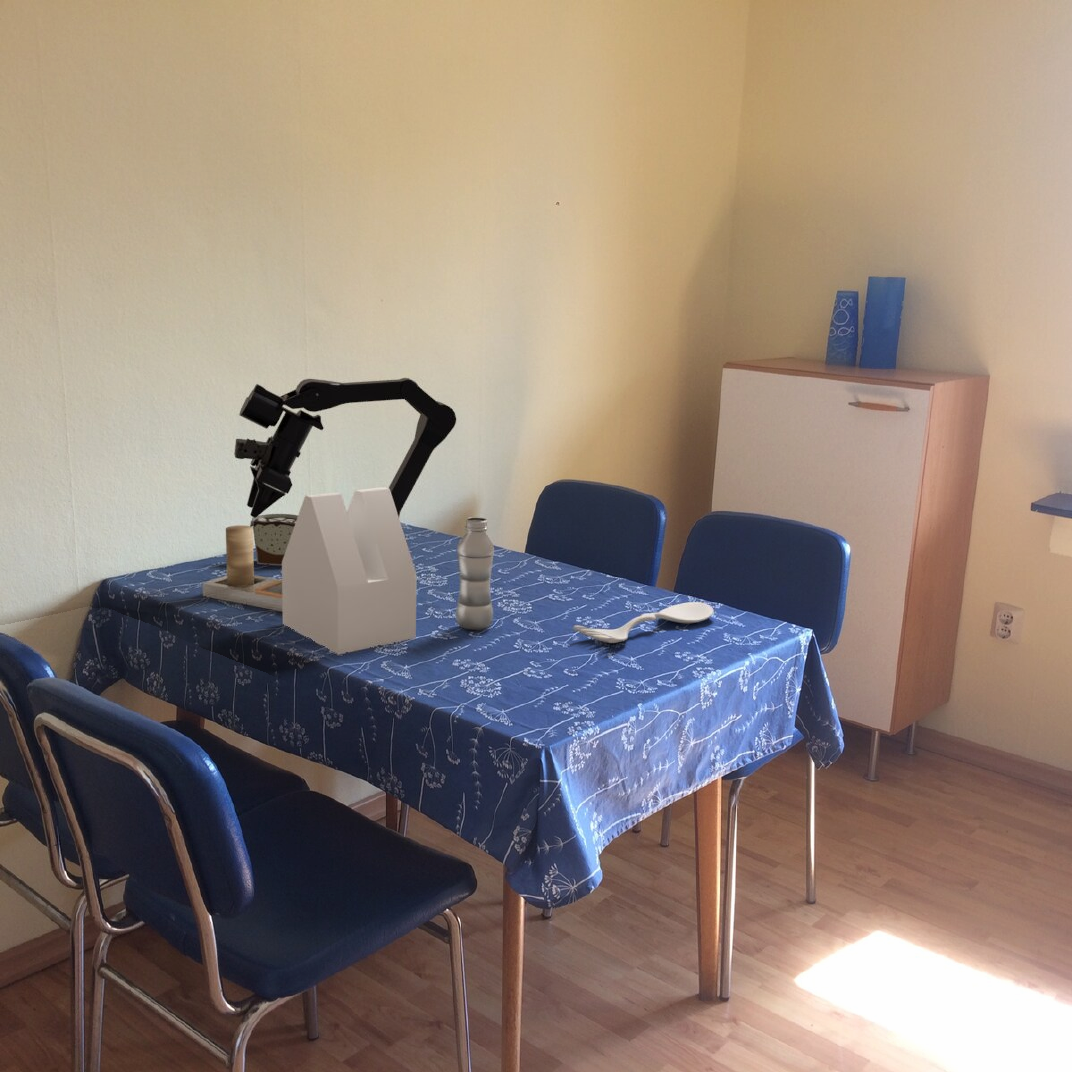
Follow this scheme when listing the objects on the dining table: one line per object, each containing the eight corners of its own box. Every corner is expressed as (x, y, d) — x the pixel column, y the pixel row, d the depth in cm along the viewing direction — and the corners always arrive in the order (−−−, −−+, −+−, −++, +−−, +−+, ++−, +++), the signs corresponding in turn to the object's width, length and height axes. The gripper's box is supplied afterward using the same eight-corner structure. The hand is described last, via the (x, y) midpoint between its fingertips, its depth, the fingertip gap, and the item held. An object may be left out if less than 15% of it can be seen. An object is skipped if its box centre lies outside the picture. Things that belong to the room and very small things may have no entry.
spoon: (570, 642, 194) (571, 623, 193) (685, 610, 216) (686, 593, 215) (608, 656, 188) (609, 636, 187) (722, 621, 210) (724, 604, 209)
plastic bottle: (495, 633, 197) (498, 523, 192) (456, 634, 195) (459, 523, 191) (490, 622, 203) (493, 515, 198) (453, 623, 202) (455, 515, 197)
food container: (315, 559, 242) (315, 515, 239) (307, 567, 236) (306, 521, 233) (260, 556, 243) (259, 511, 240) (250, 563, 237) (249, 517, 234)
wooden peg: (259, 592, 216) (258, 527, 213) (242, 599, 211) (241, 532, 208) (239, 588, 218) (237, 524, 215) (221, 595, 213) (220, 529, 210)
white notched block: (415, 638, 193) (417, 497, 187) (338, 655, 183) (337, 506, 177) (357, 611, 207) (357, 479, 201) (282, 625, 197) (280, 486, 192)
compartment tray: (324, 600, 212) (324, 586, 212) (292, 613, 204) (291, 598, 203) (237, 584, 221) (237, 570, 220) (202, 595, 212) (202, 581, 211)
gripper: (246, 414, 218) (209, 484, 219) (253, 427, 201) (213, 503, 202) (297, 439, 222) (261, 508, 223) (308, 454, 205) (270, 529, 206)
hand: (250, 511), depth 213 cm, fingers open, 9 cm apart
